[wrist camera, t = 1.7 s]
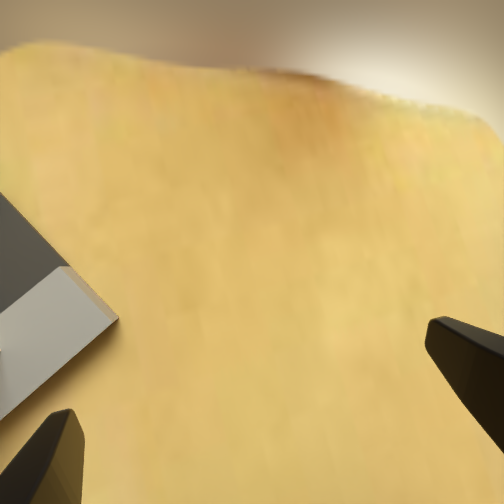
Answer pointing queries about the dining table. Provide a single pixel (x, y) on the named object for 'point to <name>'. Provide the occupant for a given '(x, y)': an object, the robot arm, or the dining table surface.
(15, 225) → the board
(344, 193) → the dining table surface
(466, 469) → the dining table surface
